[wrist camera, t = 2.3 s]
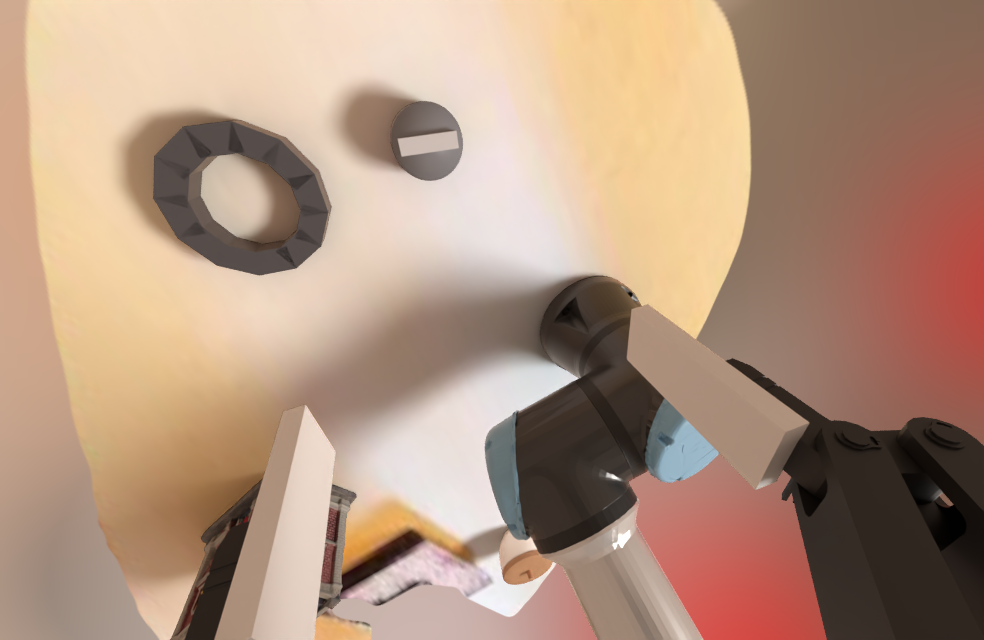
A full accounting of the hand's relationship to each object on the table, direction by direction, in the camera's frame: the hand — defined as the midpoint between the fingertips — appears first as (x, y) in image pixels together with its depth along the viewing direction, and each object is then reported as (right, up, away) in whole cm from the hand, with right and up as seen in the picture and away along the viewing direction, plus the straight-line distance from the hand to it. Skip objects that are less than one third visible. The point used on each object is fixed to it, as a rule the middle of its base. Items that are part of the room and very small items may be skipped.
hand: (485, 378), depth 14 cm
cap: (-7, +20, +21) cm, 30 cm away
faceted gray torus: (-22, +14, +19) cm, 33 cm away
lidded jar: (+6, -45, +64) cm, 78 cm away
